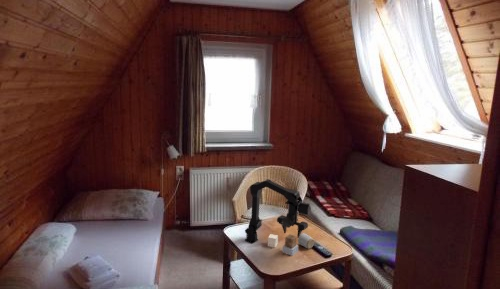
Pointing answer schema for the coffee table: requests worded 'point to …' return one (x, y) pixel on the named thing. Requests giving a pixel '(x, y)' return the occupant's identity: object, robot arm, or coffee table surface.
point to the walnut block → (290, 241)
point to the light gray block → (290, 250)
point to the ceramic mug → (306, 241)
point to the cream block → (272, 240)
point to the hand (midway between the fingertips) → (291, 235)
